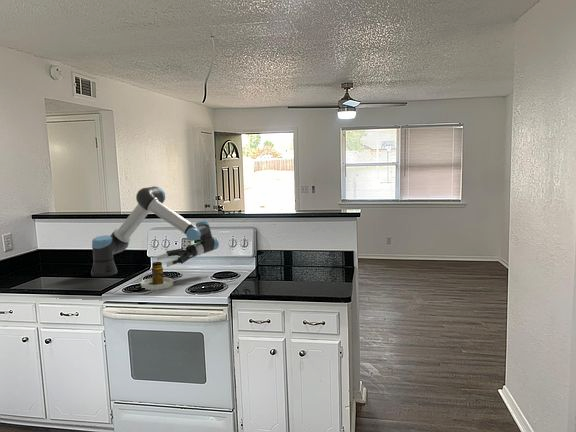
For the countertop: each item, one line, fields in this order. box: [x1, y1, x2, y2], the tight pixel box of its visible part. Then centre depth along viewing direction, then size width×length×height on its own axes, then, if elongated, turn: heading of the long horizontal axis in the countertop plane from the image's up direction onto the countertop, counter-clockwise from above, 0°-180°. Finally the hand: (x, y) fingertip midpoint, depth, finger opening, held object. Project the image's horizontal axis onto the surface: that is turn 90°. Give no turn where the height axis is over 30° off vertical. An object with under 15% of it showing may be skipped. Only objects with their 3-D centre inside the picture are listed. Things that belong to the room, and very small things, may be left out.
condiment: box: [147, 261, 164, 285], centre depth 257 cm, size 7×8×12 cm
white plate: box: [140, 276, 174, 291], centre depth 258 cm, size 17×17×2 cm
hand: (161, 261), depth 265 cm, fingers open, 13 cm apart
